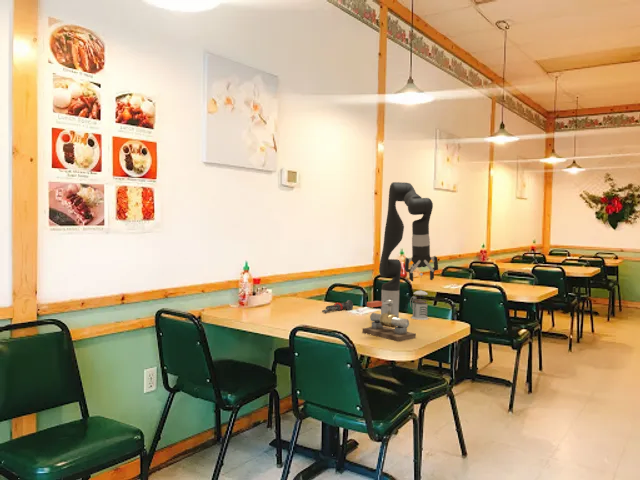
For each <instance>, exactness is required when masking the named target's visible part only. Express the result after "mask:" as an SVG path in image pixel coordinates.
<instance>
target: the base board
mask: <svg viewBox="0 0 640 480" xmlns="http://www.w3.org/2000/svg"><path fill="white" fill-rule="evenodd" d="M371 327H372V326H370V327H364V328H361V329H362V334H366V333H367V335H370V334H371V335H370V336H374V337H375V336H376V337H379V338H383V339H388V340H391V341H396V342H403V341H408V340H413V339H416V338H417V334H416V333H415V332H411V331H407V334H402V335H398V334H395V328H392V327H387V326H383V328H382V329H377V330H376V329H371Z"/></svg>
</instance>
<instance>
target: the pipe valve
mask: <svg viewBox="0 0 640 480" xmlns="http://www.w3.org/2000/svg"><path fill="white" fill-rule="evenodd" d="M369 320H370V321H371V326H370V327H371V329H376V330H377V329H382V328H383V326H384V327H388V328H393V329H395V334H398V335H402V334H407V332H408V327H409V326H410V321H409V320H408V319H407V318H402V317H399V318H398V317H397V315H393V314H391V305H388V313H383V314H381V313H375V312H371V314H370V315H369Z"/></svg>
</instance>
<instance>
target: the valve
mask: <svg viewBox="0 0 640 480" xmlns="http://www.w3.org/2000/svg"><path fill="white" fill-rule="evenodd" d="M353 308H354V303H353V301H352V300H351V299H347V300H346V302H335V303H334V304H332V305H327V306H326V307H325V309H323V310H321V312H322V313H329V312H331V311H334V310H335V311H343V310H345V309H346V310H347V311H352V310H353Z"/></svg>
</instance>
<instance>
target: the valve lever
mask: <svg viewBox="0 0 640 480" xmlns="http://www.w3.org/2000/svg"><path fill="white" fill-rule="evenodd" d="M383 304H387V305H393V300H391V299H387V300H386V301H381V300H373V301H367V302H366V307H367V308H368V307H369V308H378V307H381V306H382V305H383Z"/></svg>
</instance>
